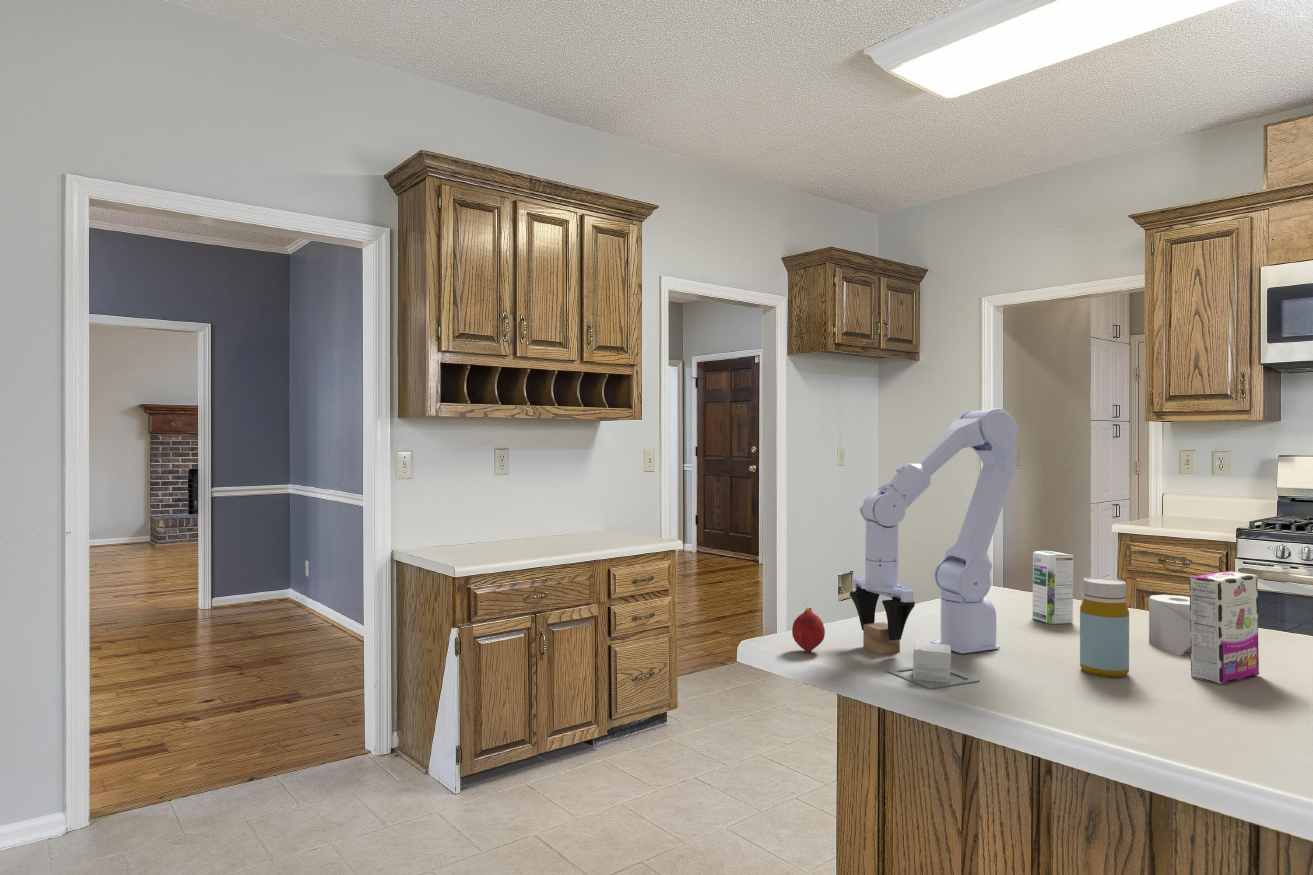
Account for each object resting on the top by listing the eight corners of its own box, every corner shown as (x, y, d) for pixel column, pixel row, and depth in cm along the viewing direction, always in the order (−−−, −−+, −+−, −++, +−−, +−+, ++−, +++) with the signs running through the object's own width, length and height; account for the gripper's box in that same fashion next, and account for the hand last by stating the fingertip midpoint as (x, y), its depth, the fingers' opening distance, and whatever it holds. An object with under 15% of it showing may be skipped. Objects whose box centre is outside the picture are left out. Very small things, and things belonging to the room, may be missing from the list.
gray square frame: (933, 664, 132) (933, 663, 132) (979, 681, 123) (979, 680, 123) (886, 671, 128) (886, 670, 128) (929, 689, 119) (929, 687, 119)
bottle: (1123, 668, 131) (1123, 578, 131) (1133, 680, 124) (1133, 585, 124) (1076, 664, 133) (1076, 576, 133) (1084, 676, 126) (1084, 583, 126)
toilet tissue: (1180, 657, 138) (1180, 608, 138) (1139, 638, 151) (1139, 594, 151) (1234, 658, 137) (1234, 609, 137) (1188, 639, 150) (1188, 595, 150)
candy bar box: (1225, 668, 131) (1226, 570, 131) (1260, 676, 127) (1260, 574, 127) (1187, 676, 126) (1187, 575, 126) (1221, 685, 122) (1222, 580, 122)
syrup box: (1031, 618, 168) (1031, 550, 168) (1054, 617, 169) (1054, 550, 169) (1050, 624, 162) (1050, 554, 162) (1074, 623, 164) (1074, 553, 164)
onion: (824, 657, 137) (825, 611, 137) (791, 655, 138) (791, 609, 138) (824, 648, 143) (824, 604, 143) (792, 646, 144) (792, 603, 144)
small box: (950, 684, 122) (951, 652, 122) (912, 680, 124) (912, 649, 124) (950, 674, 127) (950, 644, 127) (913, 670, 129) (914, 640, 129)
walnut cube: (883, 646, 145) (883, 621, 145) (899, 652, 141) (899, 627, 141) (863, 648, 143) (863, 624, 143) (879, 655, 139) (879, 629, 139)
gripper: (839, 555, 147) (838, 627, 147) (890, 566, 134) (890, 646, 133) (869, 553, 150) (868, 624, 150) (923, 564, 136) (922, 642, 136)
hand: (881, 634), depth 142 cm, fingers open, 7 cm apart
